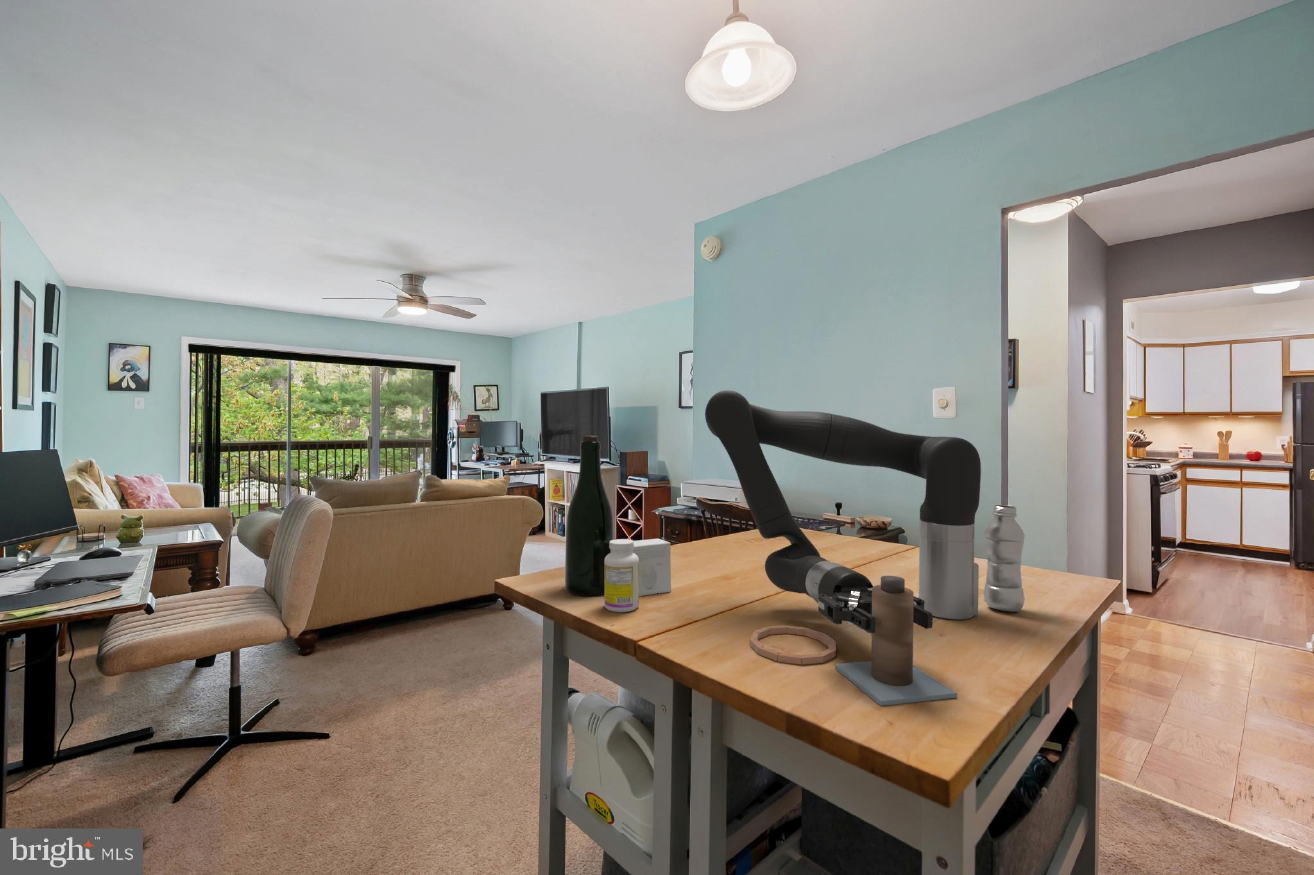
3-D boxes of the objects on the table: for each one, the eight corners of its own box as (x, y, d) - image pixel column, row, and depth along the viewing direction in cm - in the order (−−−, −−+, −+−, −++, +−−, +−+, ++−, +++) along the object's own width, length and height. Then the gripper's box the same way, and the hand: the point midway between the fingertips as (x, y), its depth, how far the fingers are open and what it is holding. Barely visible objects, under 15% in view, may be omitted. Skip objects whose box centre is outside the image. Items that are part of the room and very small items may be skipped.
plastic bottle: (1025, 617, 101) (1026, 509, 101) (982, 611, 105) (984, 506, 105) (1023, 608, 107) (1025, 505, 107) (983, 602, 111) (984, 503, 110)
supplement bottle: (619, 600, 111) (619, 536, 110) (645, 606, 107) (646, 540, 107) (596, 608, 105) (597, 541, 105) (623, 615, 101) (624, 546, 101)
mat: (902, 662, 82) (902, 658, 82) (957, 697, 71) (957, 692, 71) (834, 668, 80) (834, 664, 80) (880, 705, 69) (880, 700, 69)
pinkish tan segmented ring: (810, 629, 95) (810, 623, 95) (852, 660, 82) (852, 653, 82) (739, 634, 92) (739, 628, 92) (771, 667, 80) (771, 660, 80)
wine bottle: (593, 600, 111) (594, 435, 110) (554, 591, 116) (555, 435, 116) (624, 587, 119) (624, 435, 119) (586, 580, 125) (587, 434, 124)
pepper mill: (896, 667, 78) (897, 572, 78) (921, 684, 73) (922, 582, 73) (863, 670, 77) (864, 574, 77) (886, 687, 72) (887, 584, 72)
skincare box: (658, 584, 122) (658, 537, 122) (671, 592, 116) (671, 542, 116) (614, 590, 118) (614, 541, 118) (625, 598, 112) (625, 547, 112)
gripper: (797, 567, 88) (854, 598, 72) (877, 563, 91) (949, 592, 75) (797, 614, 88) (853, 655, 72) (877, 609, 91) (948, 647, 75)
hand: (902, 623), depth 73 cm, fingers open, 8 cm apart
